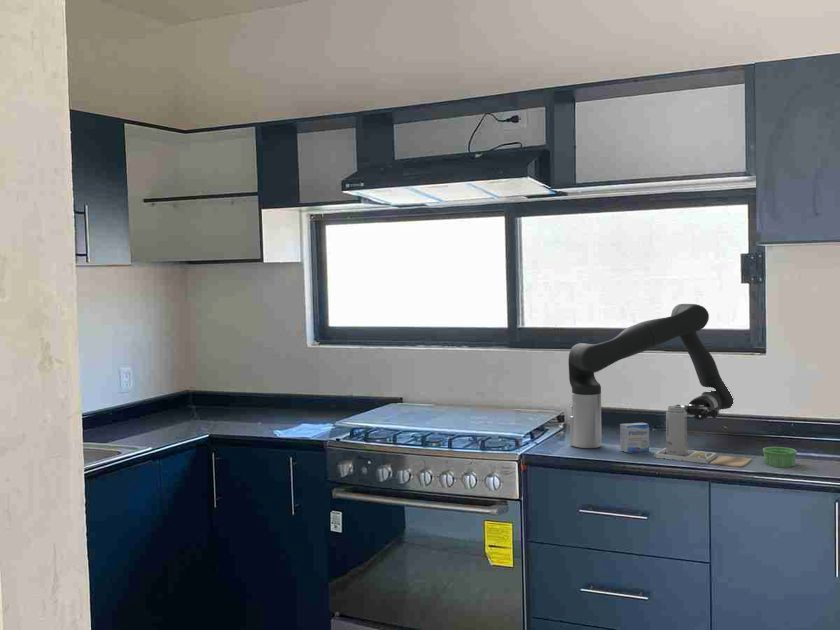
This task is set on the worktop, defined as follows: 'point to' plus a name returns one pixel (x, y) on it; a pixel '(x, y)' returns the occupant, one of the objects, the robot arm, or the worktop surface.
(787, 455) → the ramekin
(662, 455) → the parts tray
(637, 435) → the medicine box
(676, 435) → the energy drink can
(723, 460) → the cork mat
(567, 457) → the worktop surface
